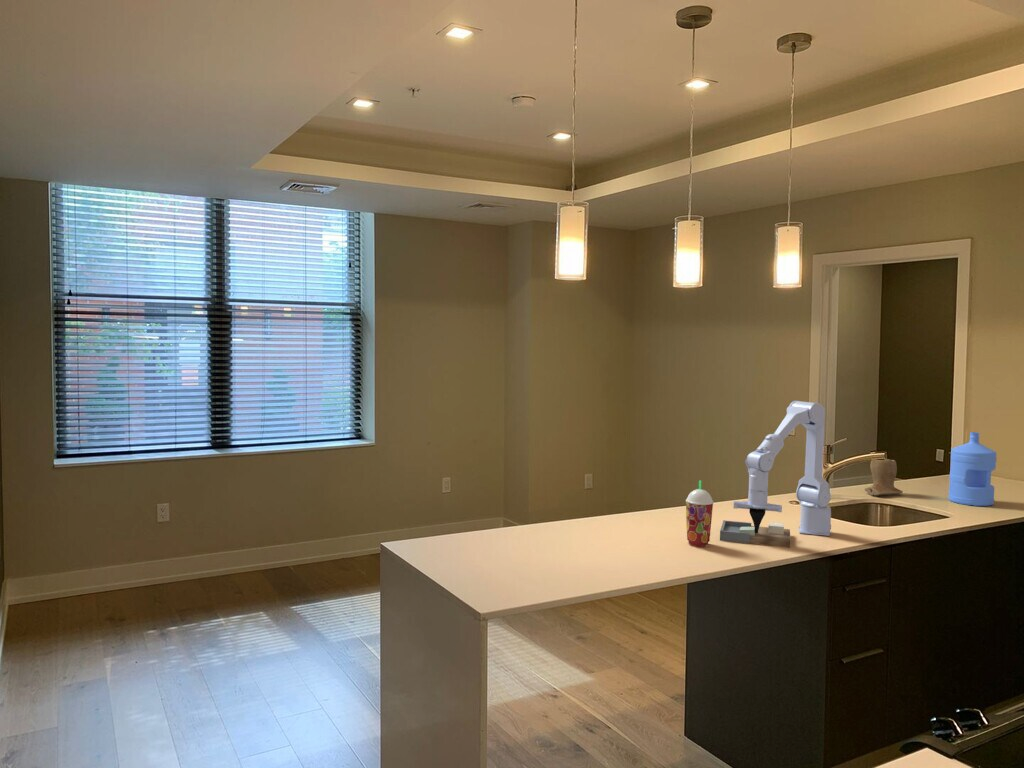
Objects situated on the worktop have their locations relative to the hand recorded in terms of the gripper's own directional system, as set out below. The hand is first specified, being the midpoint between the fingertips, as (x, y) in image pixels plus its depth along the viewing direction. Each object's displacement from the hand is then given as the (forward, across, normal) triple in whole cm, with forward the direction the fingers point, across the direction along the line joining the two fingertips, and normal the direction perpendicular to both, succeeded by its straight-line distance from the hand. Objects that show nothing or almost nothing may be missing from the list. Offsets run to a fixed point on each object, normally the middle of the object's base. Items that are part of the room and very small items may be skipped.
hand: (756, 532), depth 245 cm
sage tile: (+1, -3, 0) cm, 3 cm away
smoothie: (+3, -17, -11) cm, 20 cm away
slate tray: (+3, -6, +4) cm, 8 cm away
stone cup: (+3, +47, +97) cm, 108 cm away
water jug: (+3, +79, +94) cm, 123 cm away
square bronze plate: (+3, +4, +4) cm, 6 cm away
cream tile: (+1, +6, +6) cm, 8 cm away
